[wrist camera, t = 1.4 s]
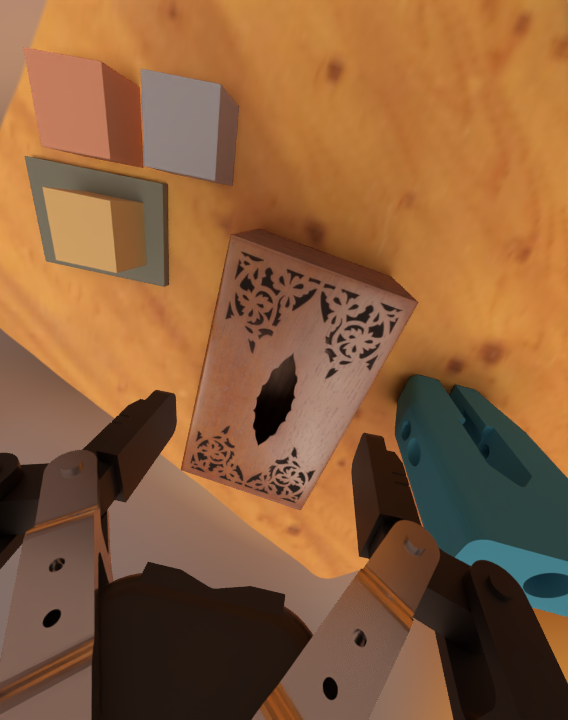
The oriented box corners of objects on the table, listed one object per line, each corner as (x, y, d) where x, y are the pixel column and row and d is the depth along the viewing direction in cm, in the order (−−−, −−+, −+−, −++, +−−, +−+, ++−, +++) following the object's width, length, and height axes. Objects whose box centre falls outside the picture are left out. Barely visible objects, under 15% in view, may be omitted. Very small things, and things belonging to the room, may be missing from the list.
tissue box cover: (306, 447, 42) (300, 510, 33) (211, 415, 41) (180, 469, 33) (391, 276, 30) (418, 302, 21) (259, 228, 29) (230, 234, 21)
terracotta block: (75, 76, 26) (23, 47, 21) (140, 87, 25) (101, 61, 21) (85, 156, 28) (41, 146, 24) (144, 168, 28) (110, 159, 24)
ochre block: (86, 191, 29) (42, 186, 24) (143, 202, 29) (110, 200, 24) (94, 253, 32) (56, 260, 27) (146, 264, 31) (116, 273, 27)
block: (381, 402, 36) (433, 579, 19) (397, 369, 34) (474, 535, 16) (473, 427, 36) (614, 629, 19) (496, 395, 34) (682, 592, 16)
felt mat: (33, 157, 29) (24, 155, 28) (167, 184, 28) (162, 183, 28) (53, 259, 34) (46, 261, 33) (168, 284, 33) (164, 286, 32)
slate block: (173, 94, 25) (140, 68, 21) (239, 107, 25) (220, 84, 21) (173, 173, 28) (144, 166, 24) (232, 186, 28) (215, 180, 23)
